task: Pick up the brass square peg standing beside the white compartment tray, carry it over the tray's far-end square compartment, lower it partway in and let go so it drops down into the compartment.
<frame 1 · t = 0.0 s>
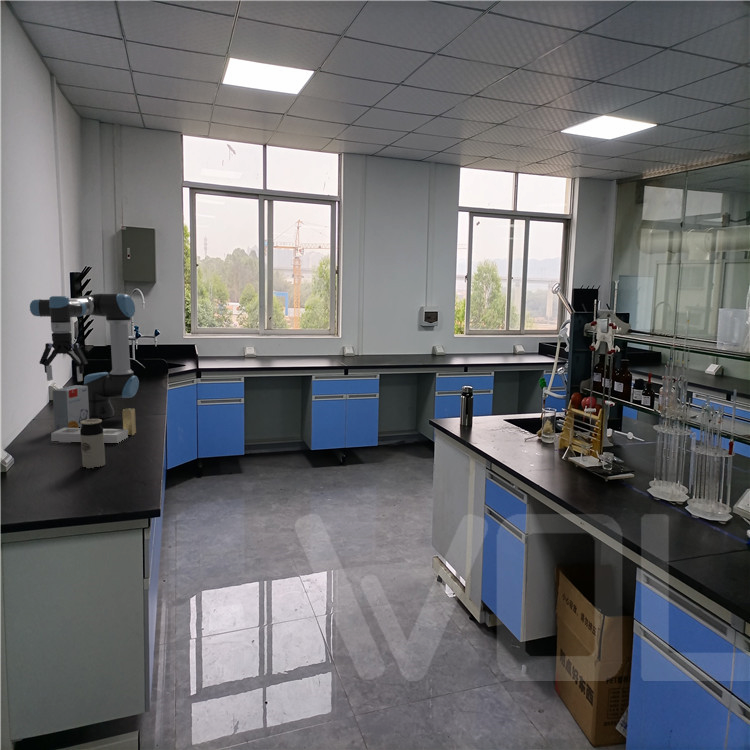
hand: (65, 380, 249), 28 cm above the countertop, tool pointing down, fingers open, 13 cm apart
brass peg: (129, 434, 269), on the countertop
travel mug: (94, 466, 223), on the countertop
white compartment tray: (90, 439, 258), on the countertop
hard drive box: (72, 428, 279), on the countertop
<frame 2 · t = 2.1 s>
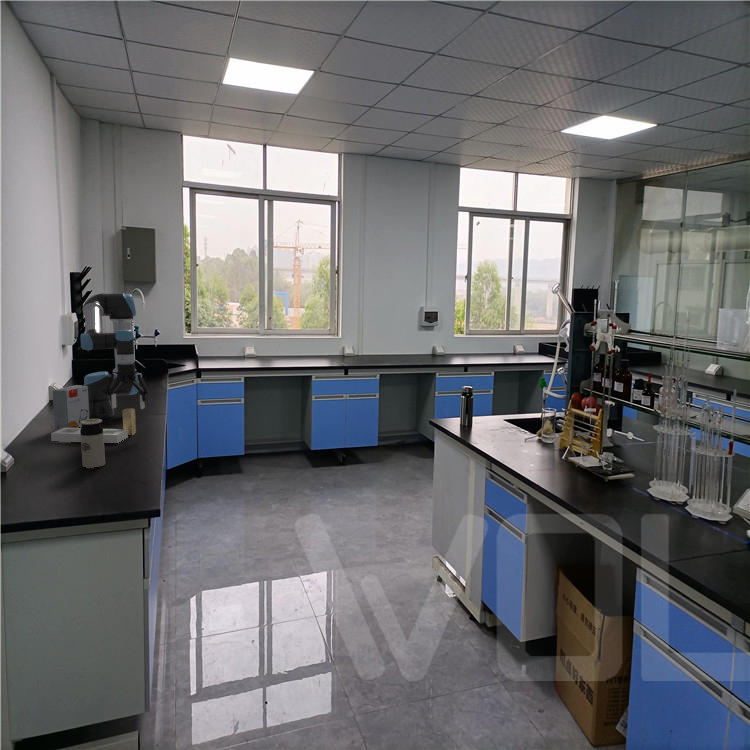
hand: (128, 408, 266), 13 cm above the countertop, tool pointing down, fingers open, 13 cm apart
nothing on the countertop moved.
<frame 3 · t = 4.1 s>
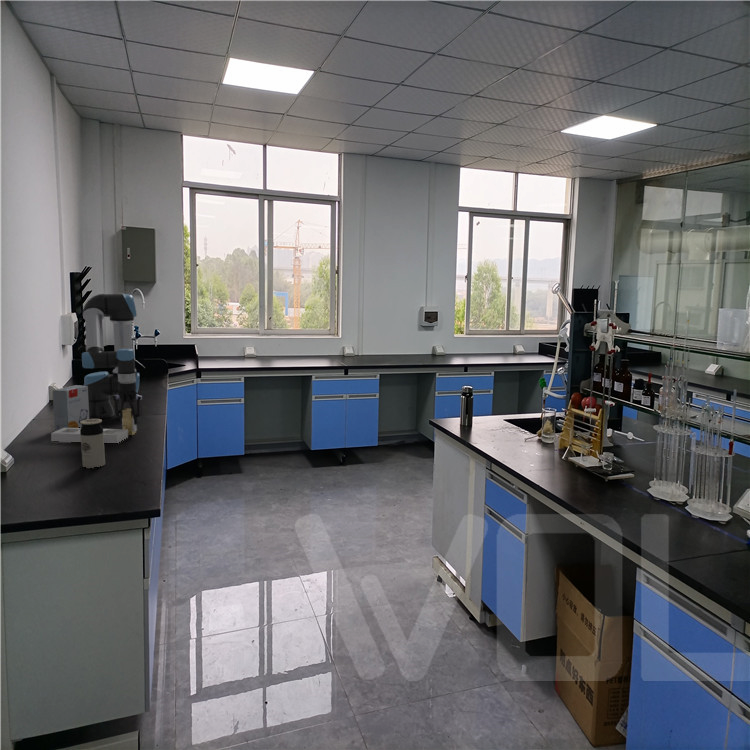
hand: (129, 430, 268), 2 cm above the countertop, tool pointing down, fingers closed on brass peg, 4 cm apart
brass peg: (129, 434, 268), on the countertop, touching gripper
everything else where it was.
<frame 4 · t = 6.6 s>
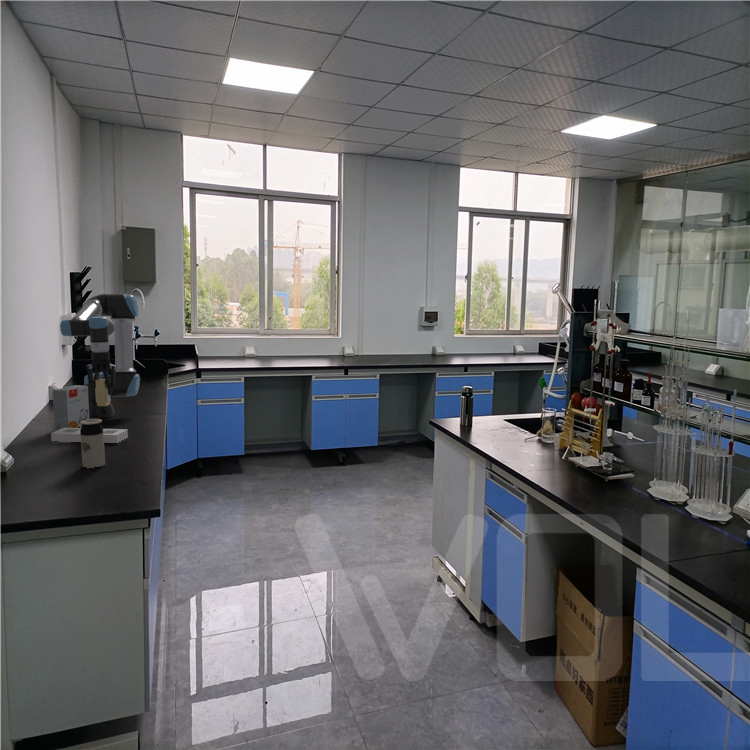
hand: (103, 401, 262), 16 cm above the countertop, tool pointing down, fingers closed on brass peg, 4 cm apart
brass peg: (103, 405, 262), point 15 cm above the countertop, touching gripper
everything else where it was.
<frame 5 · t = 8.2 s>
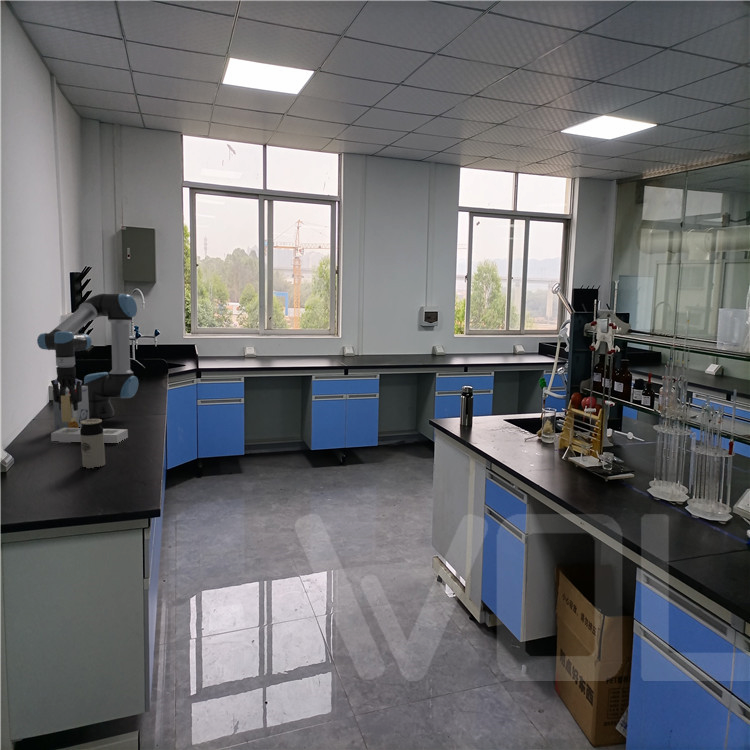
hand: (69, 417, 257), 10 cm above the countertop, tool pointing down, fingers closed on brass peg, 4 cm apart
brass peg: (69, 421, 257), point 9 cm above the countertop, touching gripper
everything else where it was.
when the fingers open (5 cm above the countertop, at t = 9.4 s): brass peg drops 3 cm, resting in white compartment tray.
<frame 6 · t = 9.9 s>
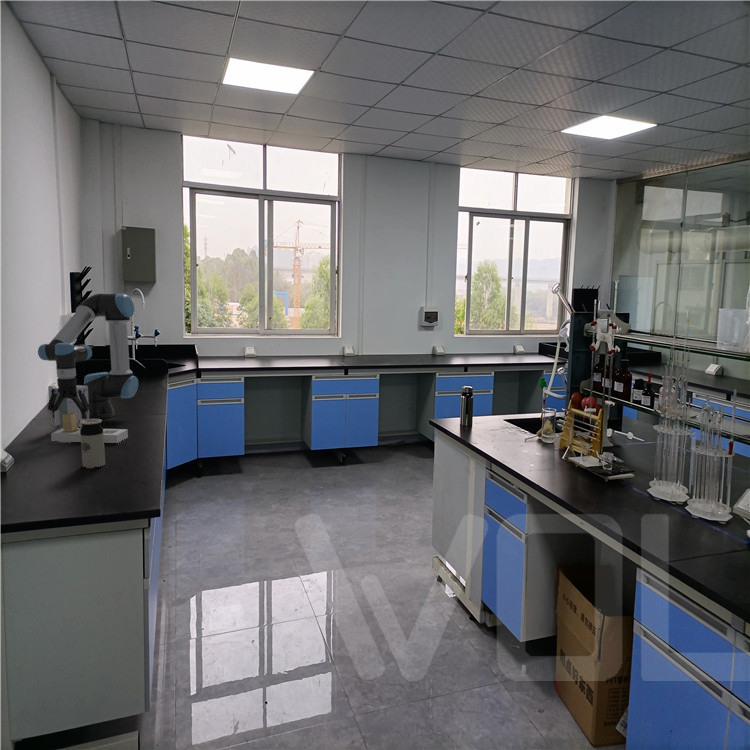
hand: (70, 425, 258), 6 cm above the countertop, tool pointing down, fingers open, 11 cm apart
brass peg: (71, 439, 259), resting in white compartment tray
everything else where it was.
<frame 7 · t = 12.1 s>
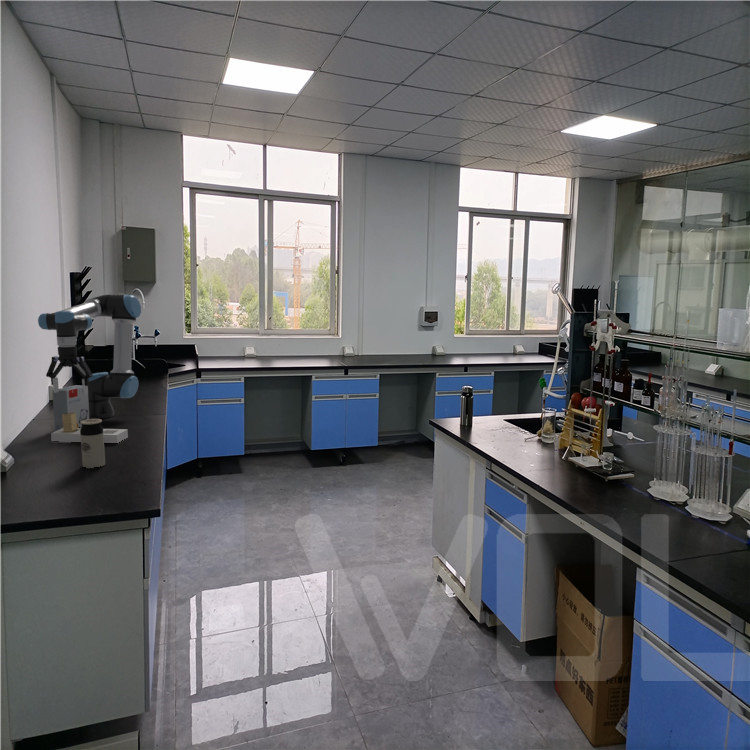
hand: (70, 392, 257), 21 cm above the countertop, tool pointing down, fingers open, 13 cm apart
nothing on the countertop moved.
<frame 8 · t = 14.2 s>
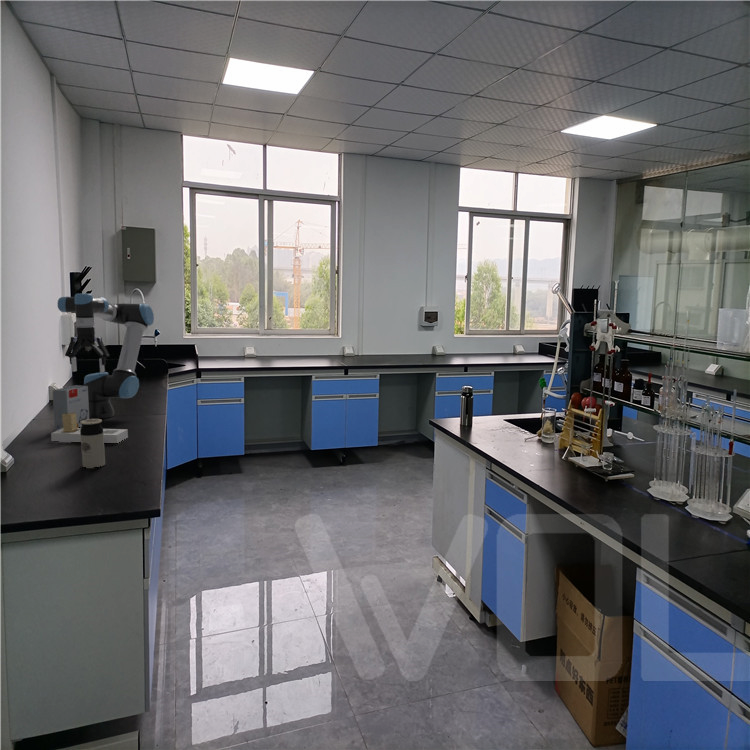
hand: (88, 371, 270), 29 cm above the countertop, tool pointing down, fingers open, 13 cm apart
nothing on the countertop moved.
at the end: brass peg 0.0 cm from the target spot on the white compartment tray, point 0.0 cm above the white compartment tray's base; brass peg tilted 0°; the gripper is holding nothing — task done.
